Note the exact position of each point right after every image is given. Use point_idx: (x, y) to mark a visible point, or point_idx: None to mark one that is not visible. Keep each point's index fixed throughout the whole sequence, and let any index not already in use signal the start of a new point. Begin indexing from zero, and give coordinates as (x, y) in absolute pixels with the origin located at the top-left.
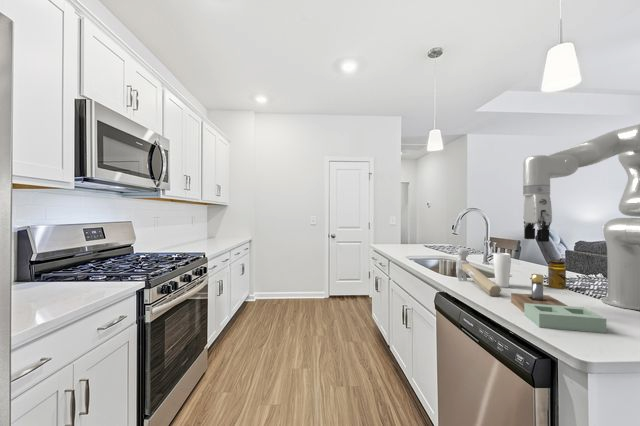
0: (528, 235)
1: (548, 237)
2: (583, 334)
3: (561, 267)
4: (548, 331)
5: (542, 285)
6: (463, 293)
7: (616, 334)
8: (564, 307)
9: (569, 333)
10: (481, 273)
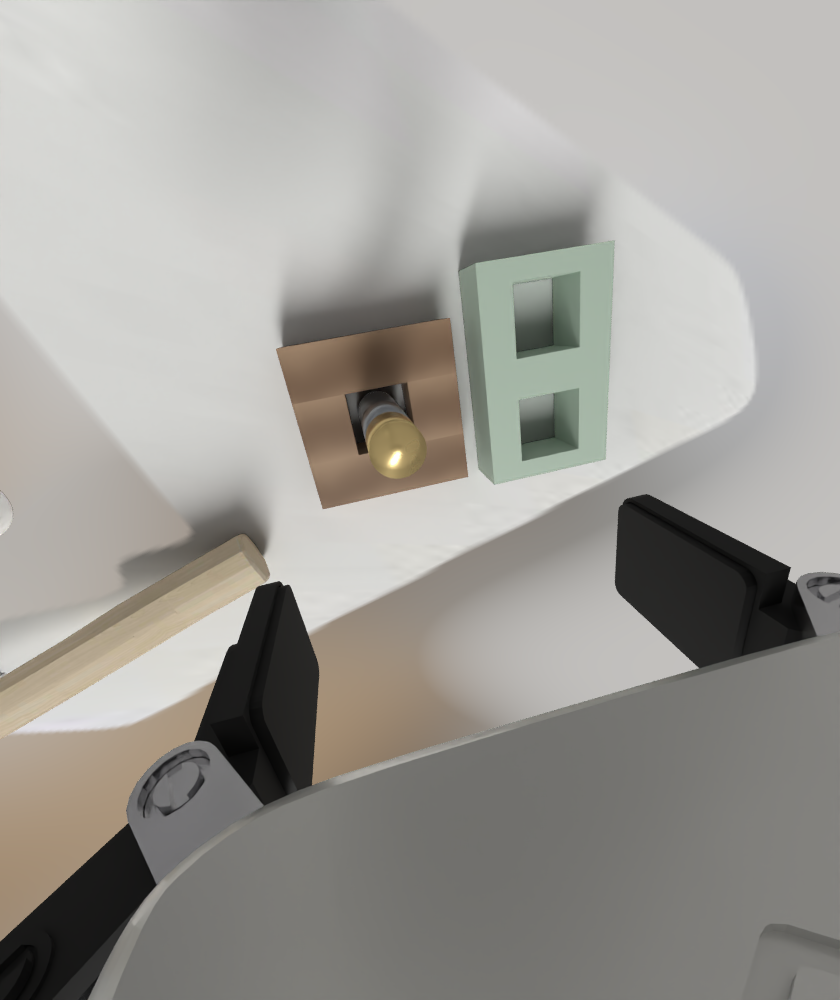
0: (304, 677)
1: (679, 517)
2: None
3: None
4: None
5: (406, 416)
6: None
7: (585, 218)
8: (507, 351)
9: None
10: (81, 648)
